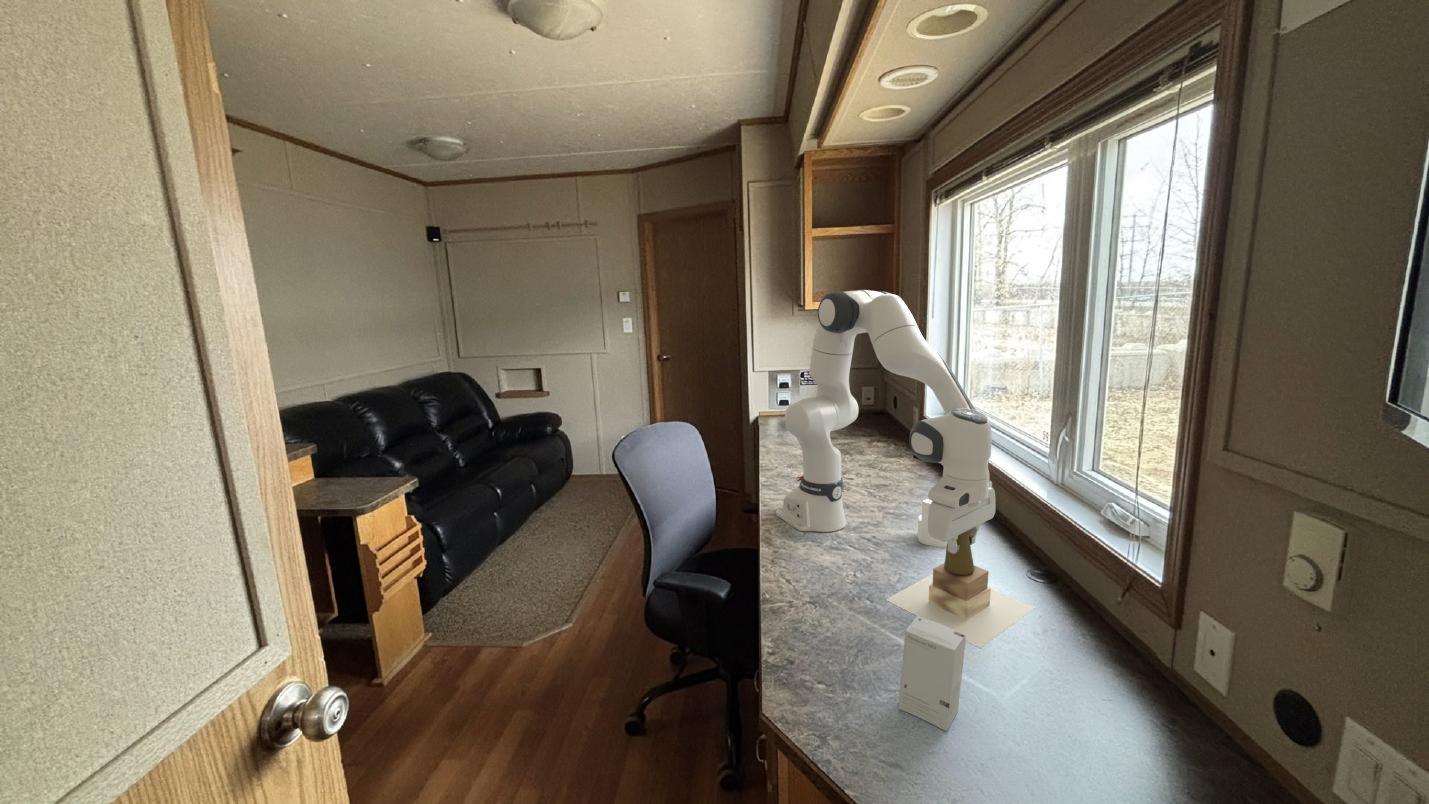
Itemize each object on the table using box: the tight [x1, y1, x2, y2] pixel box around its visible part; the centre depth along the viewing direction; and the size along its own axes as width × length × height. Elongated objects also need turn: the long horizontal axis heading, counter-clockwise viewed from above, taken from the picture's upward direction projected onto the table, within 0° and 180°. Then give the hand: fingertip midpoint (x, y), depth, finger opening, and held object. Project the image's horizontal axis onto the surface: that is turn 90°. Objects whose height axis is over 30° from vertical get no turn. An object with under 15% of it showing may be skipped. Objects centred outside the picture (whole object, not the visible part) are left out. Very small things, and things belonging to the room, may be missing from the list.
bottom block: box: [928, 584, 992, 620], centre depth 121 cm, size 9×9×4 cm
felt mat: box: [885, 573, 1036, 649], centre depth 122 cm, size 22×22×1 cm
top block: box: [932, 562, 990, 601], centre depth 120 cm, size 8×8×4 cm
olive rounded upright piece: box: [944, 529, 975, 575], centre depth 120 cm, size 6×6×11 cm
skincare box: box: [898, 615, 967, 732], centre depth 91 cm, size 8×6×15 cm
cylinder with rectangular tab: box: [917, 498, 947, 548], centre depth 152 cm, size 9×9×12 cm
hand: (961, 547), depth 119 cm, fingers open, 5 cm apart
